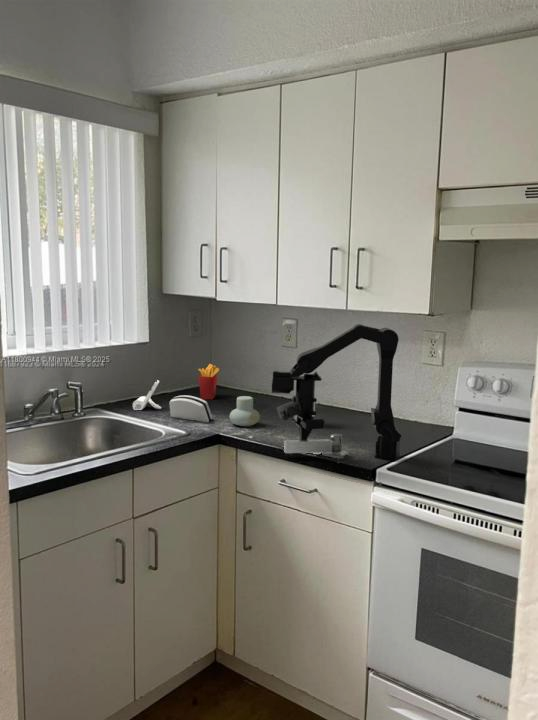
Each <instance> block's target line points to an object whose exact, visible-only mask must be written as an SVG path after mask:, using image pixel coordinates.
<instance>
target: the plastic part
mask: <svg viewBox="0 0 538 720" xmlns="http://www.w3.org/2000/svg"><path fill="white" fill-rule="evenodd" d="M159 384H160V380H158V379H156V381H155V382H154V384H153V385H152V387H151V388H150V389H151V390H149V391H148V393H147V395H144V396H143V395H142V396H139V398H137V399H136V400H134V401H133V402H132V409H133V410H134V411H135V410H141V411H142V410H144V408H146V406H147V404H148V403H149V404H150V405H151V406H152V407H153V408H154V409H157V410H161V409H162V406H160V404H158V403H157V404H156V403H155V402H154V401H153V400H152V398H151V397H152V396H153V394H154V392H155V390H156V389H157V387H158V385H159Z"/></svg>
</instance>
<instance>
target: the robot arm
mask: <svg viewBox="0 0 538 720" xmlns="http://www.w3.org/2000/svg"><path fill="white" fill-rule="evenodd" d="M359 340H366V341H369V342H372V343H376V348H377V353H378V359H379V360H378V379H377V403H376V405H375V408H374V407H371V408H370V412H371V413H370V414H371V417H370V422H371V424H372V426H373V428H374V429H375V431H376V432H377V434H379V436H378V437H377V439H376V440H377V441H375V452H374V453H375V455H374V458H375V459H379V458H380V460H387V461H391V462H395V461H397V460H398V459H399V458H401V457H402V454H401V452H400V451H401V438H402V434H401V432H399V430H398V428H396V426H395V420H394V414H393V408H392V391H393V390H392V387H393V386H392V385H393V365H394V357H395V356H396V353H397V349H398V344H399V335H398V334H397V332H396V331H395V330H393V329H391V328H389V327H382V328H377V327H372V326H366V325H363V324H360V323H357V324H355V325H354V326H353V327H351V328H350V329H348V330H346V331H344V332H343V333H341V334H339V335H338V336H336V337H334V338H333V339H331V340H329V341H328V342H326V343H324V344H323V345H320V346H317V347H315V348H311V349H308V350H306V351H303V352H301V353H300V354H298V356H297V357H296V363H295V364H294V365H293V367H292V368H291V369H290V371H279V370H272V380H271V394H286V395H287V394H289V395H290V394H291V392H292V391H294V390H295V395H293V396H292V398H291V400H292V401H289V402H286V403H284V404H281V405H279V406H277V407H276V408H275V409H276V411H277V414H278V417H279V419H281V420H282V421H287V420H289V419H291V418H292V419H291V421H292V422H293V423H294V424H295V425H296V427H297V431H298V434H299V438H300V439H299V440H308V438H309V436H310V435H311V433H312V431H313V430H318V429H321V430H322V429H325V428H326V421H325V420H324V418H321V417H320V416H319V415H317V411H316V410H315V411H314V402H315V403H317V397H316V396H315V390H316V388H315V387H316V381H317V382H318V381H319V382H320V381H322V377H321V376H320V374H318V372H317V371H315V370H316V369H318V368H320V366H321V365H322V364H323V363H324V362H325V361H326V360H327V359H329V358H330V357H331V356H334V355H335V354H336V353H338V352H340V351H342V350H344V349H346V348H347V347H349V346H351V345H353V344H354V343H356V342H357V341H359ZM314 371H315V372H314ZM312 415H315V416H312Z"/></svg>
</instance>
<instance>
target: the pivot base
mask: <svg viewBox="0 0 538 720" xmlns="http://www.w3.org/2000/svg"><path fill="white" fill-rule="evenodd" d="M349 453H350V452H349V451H345V450H342V451H341V452H339V453H334V452H324V453H322V455H325V456H330V457H334V458H342V457H344V456H345V455H347V454H349ZM322 455H321V456H322ZM334 458H333V459H334ZM344 458H345V457H344ZM342 459H343V458H342Z"/></svg>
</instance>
